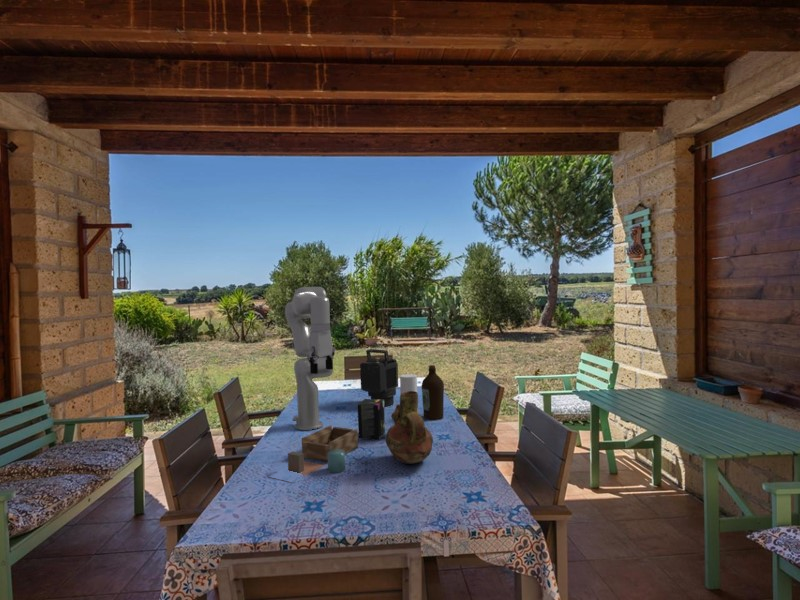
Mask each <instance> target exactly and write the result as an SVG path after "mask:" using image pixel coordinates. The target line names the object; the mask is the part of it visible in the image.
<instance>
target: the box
mask: <svg viewBox="0 0 800 600" xmlns="http://www.w3.org/2000/svg"><path fill="white" fill-rule="evenodd" d="M358 448H359V431H358V428H355V429H353V428H345V427H339V426H334V427H332V425H331V424H330V425H328V426H325V427H324V428H321V429H319V430H317V431H315V432H312V433H310V434H309V435H306V436H304V437H301V453H304V459H305V458H306V460H310V459H311V461H317V462H320V463H321V462H322V463H327V464H328V457H327V453H328V452H329V451H331V450H336V449H340V450H344V451H345V456H346V455H347V454H349V453H351V452H353V451H354V450H356V449H358Z"/></svg>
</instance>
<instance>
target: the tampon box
mask: <svg viewBox="0 0 800 600" xmlns="http://www.w3.org/2000/svg"><path fill="white" fill-rule="evenodd" d="M385 419H386V417H385V407H384V399H371V398H364V399H363V400H361V401H360V402H358V404H357V422H358V427H357V431H358V440H374V441H375V440H379V441H380V440H381V438H382V437H383V436H384V435H385V434H386V427H385V424H386V421H385Z"/></svg>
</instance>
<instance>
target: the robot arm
mask: <svg viewBox="0 0 800 600" xmlns="http://www.w3.org/2000/svg"><path fill="white" fill-rule="evenodd" d="M330 305H331V304H330V299H329V297H327V292H326V290H325V288H323V287H321V286H302V287H298V288H297V289H296V290H295V292H294V294H293V297H292V301H290V302H288V303H287V304H286V305H285V306H284V314H285V318H286V322H287V324H288V326H289V328H290V330H291V333H292V340H293V347H294V352H295V355H296V356H297V357H298V358H299V359H297V360H296V361H295V362H294V365H293V367H294V368H293V370H294V376H295V380H296V396H297V397H296V400H297V403H296V404H297V415H293V417H292V421H293V422H295V424H294V429H296V430H297V429H299V430H298V431H312V429H314V430H318V429H320V428H322V427H323V426H324V424H323V422H322V421H320V406H319V387H318V385H317V384H316V383H315V382H314V379H318V378H319V379H320V378H328V377H331V375H333V373H334V363H333V362H334V361H333V360H334V359H335V358H334V356H335V352H336V347H335V346H333V340H332V339H333V338H332V332H331V315H330V312H331V311H330ZM303 319H310V326H309V325H308V324H307V323H306V322H304V321H303ZM317 428H318V429H317Z"/></svg>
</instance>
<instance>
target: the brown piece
mask: <svg viewBox="0 0 800 600" xmlns="http://www.w3.org/2000/svg"><path fill="white" fill-rule="evenodd" d="M287 465H288V466H287V467H288V470H289V471H293V472H297V473H301V472H302V473H301V474H302V475H303V476H304V477H306V476H308V475H310V474H312V473H314V472H315V470H316V471H318V470H319V469H321V468H322V467H324V464H320V463H315V462H309V461H305V458H304V453H302V452H298V451H294V450H293V451H290V452H288V453H287ZM313 471H314V472H313ZM311 472H312V473H311ZM309 473H310V474H309ZM307 474H308V475H307ZM305 475H306V476H305Z"/></svg>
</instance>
